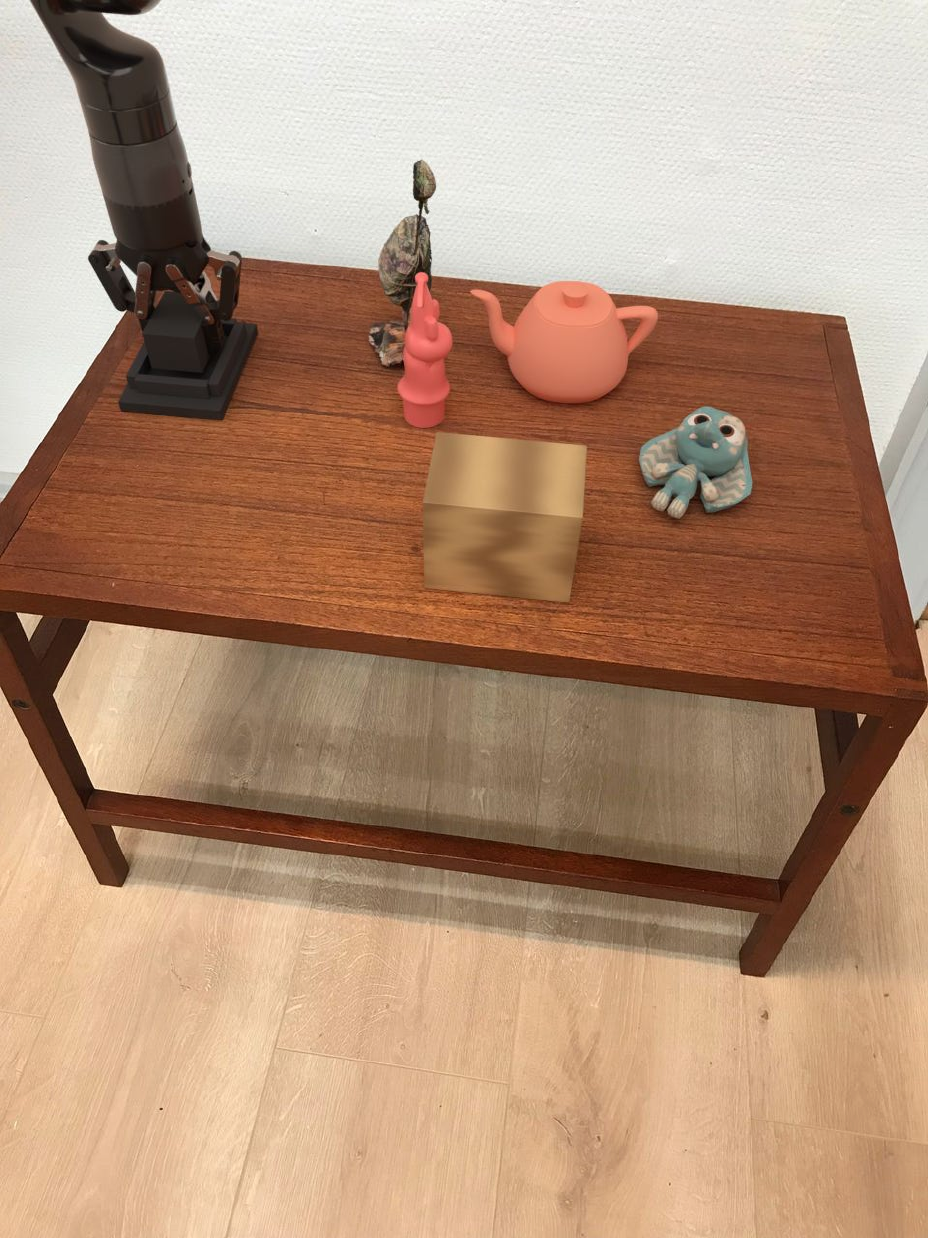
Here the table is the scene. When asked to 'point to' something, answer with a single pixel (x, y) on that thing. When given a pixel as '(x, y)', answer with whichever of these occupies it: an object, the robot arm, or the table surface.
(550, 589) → the oak block
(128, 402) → the base pad
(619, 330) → the teapot
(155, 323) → the small black block
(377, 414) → the table surface
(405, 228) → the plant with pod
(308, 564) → the table surface
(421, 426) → the figurine
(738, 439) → the stuffed animal
